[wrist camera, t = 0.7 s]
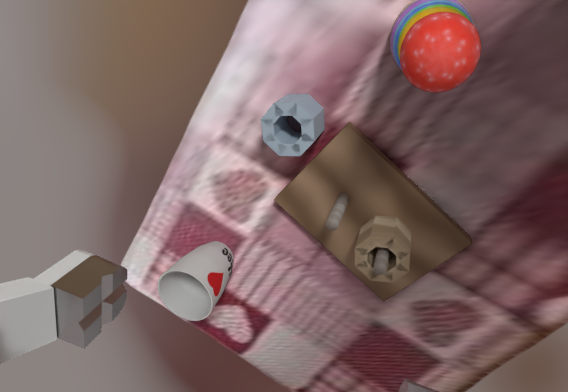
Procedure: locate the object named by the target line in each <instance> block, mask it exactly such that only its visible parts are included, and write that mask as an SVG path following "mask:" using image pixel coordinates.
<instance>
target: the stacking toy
mask: <svg viewBox="0 0 568 392" xmlns="http://www.w3.org/2000/svg"><path fill="white" fill-rule="evenodd" d="M390 50H391V54H392V57H393V59H394V61H395V63H396V64H397V66H398V67H399V68H400V69H401V70H402V71H403V73H404V75H405V76H406V78H407V79H408V80H409V82H410V83H411V84H413V85H414V86H415V87H417V88H419V89H421V90H424V91H428V92H443V91H448V90H451V89H453V88H455V87H457V86H459V85H460V84H462V83H463V82H464V81H466V80H467V79H468V78H469V77H470V75H471V74H472V73H473V71H474V70H475V68H476V66H477V64H478V61H479V58H480V53H481V42H480V37H479V34H478V32H477V30H476V28H475V26H474V21H473V18H472V16H471V14H470V12H469V10H468V9H467V8H466V6H465V5H464V4H462V3H461V2H460V1H459V0H415V1H413V2H412V3H410V4H409V5H408V6H407V7H405V8H404V9H403V11H402V12H401V13H400V14H399V15H398V17H397V19H396V20H395V22H394V24H393V27H392V30H391V35H390Z"/></svg>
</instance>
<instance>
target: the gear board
mask: <svg viewBox="0 0 568 392" xmlns="http://www.w3.org/2000/svg"><path fill="white" fill-rule="evenodd" d="M274 201H276V202H277V203H278V204H279V205H280V206H281V207H282V208H283V209H284V210H285V211H286V212H287V213H288V214H290V215H291V216H292V217H293V218H294V219H295V220H296V221H297V222H298V223H299V224H300V225H301V226H303V227H304V228H305V229H306V230H307V231H308V232H309V233H310V234H311V235H312V236H313V237H314V238H316V239H317V240H318V241H319V242H320V243H321V244H322V245H323V246H324V247H325V248H326V249H327V250H329V251H330V252H331V253H332V254H333V255H334V256H335V257H336V258H337V259H338V260H339V261H340V262H342V263H343V264H344V265H345V266H346V267H347V268H348V269H349V270H350V271H351V272H352V273H353V274H355V275H356V276H357V277H358V278H359V279H360V280H361V281H362V282H363V283H364V284H365V285H366V286H368V287H369V288H370V289H371V290H372V291H373V292H374V293H375V294H376V295H377V296H378V297H379V298H381V299H382V300H383V301H385V300H387V299H388V298H390V297H391V296H393V295H395V294H396V293H398V292H399V291H401V290H402V289H404V288H405V287H407V286H408V285H410V284H411V283H413V282H414V281H416V280H417V279H419V278H420V277H422V276H423V275H425V274H426V273H428V272H429V271H431V270H432V269H434V268H435V267H437V266H439V265H440V264H442V263H443V262H445V261H446V260H448V259H449V258H451V257H452V256H454V255H455V254H457V253H458V252H460V251H461V250H463V249H464V248H466V247H467V246H469V245H470V244H472V240H471V237H470V236H469V235H468V234H467V233H466V232H465V231H464V230H463V229H462V228H461V227H460V226H459V225H458V224H457V223H456V222H455V221H454V220H452V219H451V218H450V217H449V216H448V215H447V214H446V213H445V212H444V211H443V210H442V209H441V208H440V207H439V206H438V205H437V204H436V203H435V202H434V201H433V200H432V199H430V198H429V197H428V196H427V195H426V194H425V193H424V192H423V191H422V190H421V189H420V188H419V187H418V186H417V185H416V184H415V183H414V182H413V181H412V180H411V179H409V178H408V177H407V176H406V175H405V174H404V173H403V172H402V171H401V170H400V169H399V168H398V167H397V166H396V165H395V164H394V163H393V162H392V161H391V160H390V159H388V158H387V157H386V156H385V155H384V154H383V153H382V152H381V151H380V150H379V149H378V148H377V147H376V146H375V145H374V144H373V143H372V142H371V141H370V140H369V139H368V138H366V137H365V136H364V135H363V134H362V133H361V132H360V131H359V130H358V129H357V128H356V127H355V126H354V125H353V124H352V123H351V122H349V123H348V124H347V125H346V126H345V127H344V128H343V129H342V130H341V131H340V132H339V133H338V134H337V135H336V136H335V137H334V138H333V139H332V140H331V141H330V142H329V143H328V144H327V145H326V146H325V147H324V148H323V149H322V150H321V151H320V152H319V153H318V154H317V155H316V156H315V157H314V158H313V159H312V160H311V162H310V163H309V164H308V165H307V166H306V167H305V168H304V169H303V170H302V171H301V172H300V173H299V174H298V175H297V176H296V177H295V178H294V179H293V180H292V181H291V182H290V183H289V184H288V185H287V186H286V187H285V188H284V189H283V190H282V191H281V192H280V193H279V194H278V195H277V197H276V198H275V199H274Z"/></svg>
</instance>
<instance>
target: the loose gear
mask: <svg viewBox="0 0 568 392" xmlns="http://www.w3.org/2000/svg"><path fill="white" fill-rule="evenodd" d="M287 116H293V117H294V118H295V119H296V120H297V121H298V122H299V123H300V124H301V131H302V132H295V131H294V130H293V129H292V128H291V127H290V126H289V125H288V122H287ZM261 125H262V134H263V141H264V142H265V143H266V144H267V145H268V146H269V147H270V148H271V149H272V150H273V151H275V152H276V153H277V154H278V155H279V156H301V155H302V154H303V153H304V152H305V151H306V150H307V149H308V148H309V147H310V145H311V144H312V143H313V142H314V141H315V140H316V139H317V138H318V137H319V135H320V134H321V133H322V132H323V131H324V129H325V125H324V108H323V107H322V106H321V105H320V104H319V103H318V102H317V101H315V100H314V99H313V98H312V97H311V96H310V95H309V94H288V95H286V96H284V97H283V98H281V99H280V100H278V101H277V102H275V103H274V104H273V105H272V106H271V108H270V109H269V110H268V111H267V113H266V114H265V115H264V116H263V117H262V119H261Z"/></svg>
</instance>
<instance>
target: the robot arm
mask: <svg viewBox="0 0 568 392" xmlns="http://www.w3.org/2000/svg"><path fill="white" fill-rule="evenodd" d="M126 279H127V269H126V268H124V267H122V266H120V265H118V264H115V263H113V262H110V261H108V260H106V259H104V258H101V257H99V256H97V255H93V254H91V253H89V252H86V251H84V250H82V249H80V250H75V251H74V252H72V253H71V254H69V255H68V256H66V257H65V258H63V259H62V260H60V261H59V262H57V263H56V264H55V265H53V266H52V267H50V268H49V269H47V270H46V271H44V272H43V273H41V274H40V275H38V276H37V277H35V278H34V279H32V278H29V277H28V278H23V279H18V280H14V281H10V282H5V283H1V284H0V364H1V363H3V362H6V361H8V360H10V359H13V358H15V357H17V356H20V355H22V354H24V353H27V352H29V351H32V350H34V349H36V348H38V347H41V346H43V345H45V344H48V343H50V342H53V341H55V340H57V338H59V339H62V340H64V341H67V342H69V343H72V344H74V345H76V346H79V347H81V348H85V347H86V346H88V344H90V343H91V341H93V340H94V339H95V337H97V336H98V335H99V334H100V333H101V328H102V324H105V323H108V322H111V321H113V320H114V319H115V317H117V316H118V314H119V313H120V311H121V310H122V308H123V306H124V304H125V301H126V297H127V290H126V288H125V286H124V285H123V282H124V281H125V280H126ZM399 392H439V391H436V390H434V389H431V388H428V387H426V386H423V385H421V384H418V383H415V382H413V381H410V380H408V379H405V380H404V381H403V383H402V385H401V387H400V390H399Z"/></svg>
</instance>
